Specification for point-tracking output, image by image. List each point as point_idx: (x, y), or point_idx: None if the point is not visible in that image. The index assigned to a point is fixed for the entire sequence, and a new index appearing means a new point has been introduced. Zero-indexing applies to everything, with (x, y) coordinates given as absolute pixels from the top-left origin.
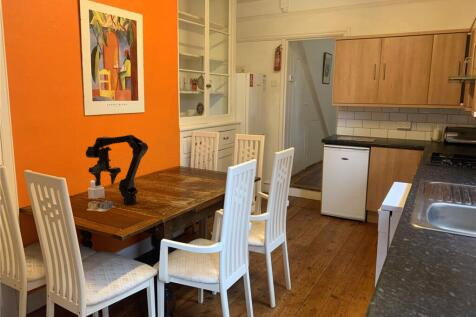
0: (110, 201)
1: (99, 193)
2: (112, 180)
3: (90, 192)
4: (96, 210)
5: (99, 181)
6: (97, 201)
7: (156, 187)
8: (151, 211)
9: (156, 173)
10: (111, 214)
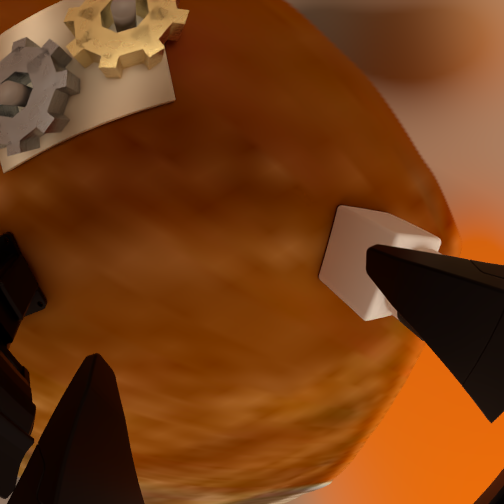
0: (6, 144)
1: (353, 263)
2: (45, 429)
3: (405, 226)
4: (54, 9)
5: (392, 284)
6: (126, 51)
7: (231, 461)
8: None
9: (339, 459)
10: None
